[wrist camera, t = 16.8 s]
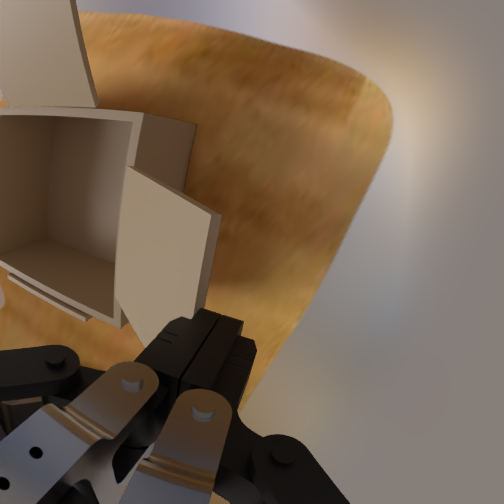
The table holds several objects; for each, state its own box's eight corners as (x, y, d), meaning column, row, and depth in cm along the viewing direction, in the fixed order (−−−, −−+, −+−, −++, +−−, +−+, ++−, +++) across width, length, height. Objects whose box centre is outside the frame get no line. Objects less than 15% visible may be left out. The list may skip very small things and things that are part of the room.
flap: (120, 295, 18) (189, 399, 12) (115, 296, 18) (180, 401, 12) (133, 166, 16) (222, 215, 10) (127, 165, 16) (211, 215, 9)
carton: (168, 291, 28) (118, 338, 20) (44, 243, 30) (-11, 266, 22) (197, 123, 23) (141, 110, 15) (55, 110, 25) (-8, 107, 17)
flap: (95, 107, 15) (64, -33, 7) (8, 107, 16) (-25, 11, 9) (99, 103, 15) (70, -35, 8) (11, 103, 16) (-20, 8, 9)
